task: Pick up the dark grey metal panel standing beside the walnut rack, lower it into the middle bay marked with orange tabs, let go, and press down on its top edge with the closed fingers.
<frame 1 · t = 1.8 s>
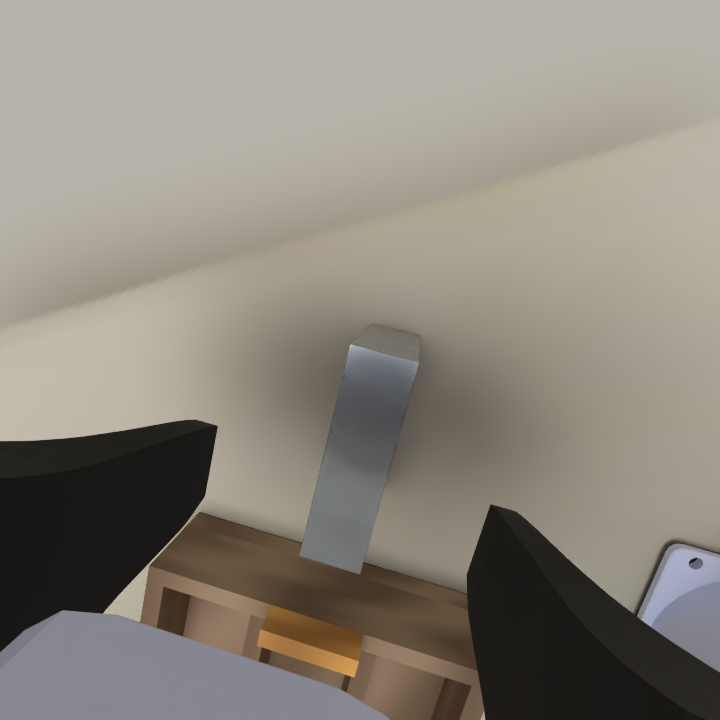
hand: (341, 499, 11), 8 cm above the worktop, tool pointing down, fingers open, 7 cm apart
rack: (310, 654, 22), on the worktop
panel: (375, 407, 19), on the worktop
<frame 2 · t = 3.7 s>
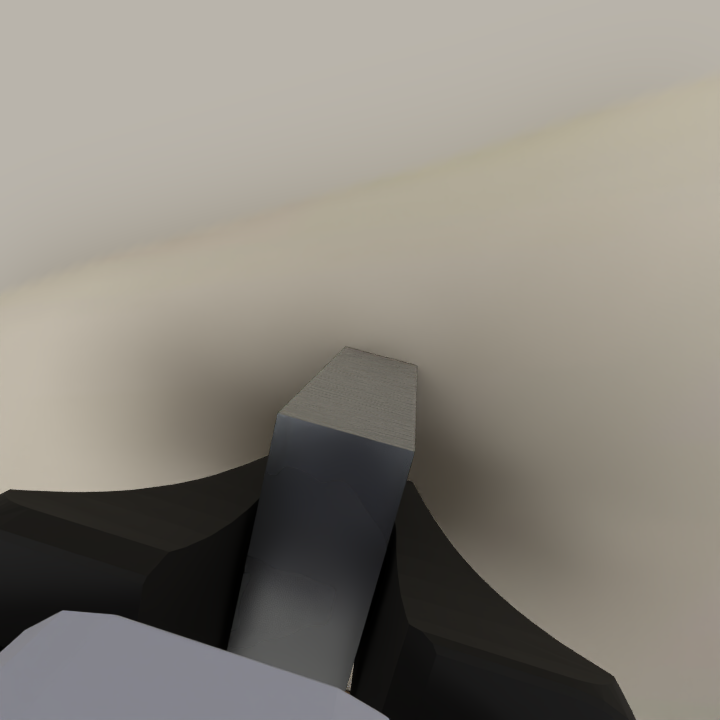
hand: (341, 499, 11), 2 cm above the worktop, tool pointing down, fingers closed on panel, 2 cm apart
panel: (351, 471, 13), on the worktop, touching gripper
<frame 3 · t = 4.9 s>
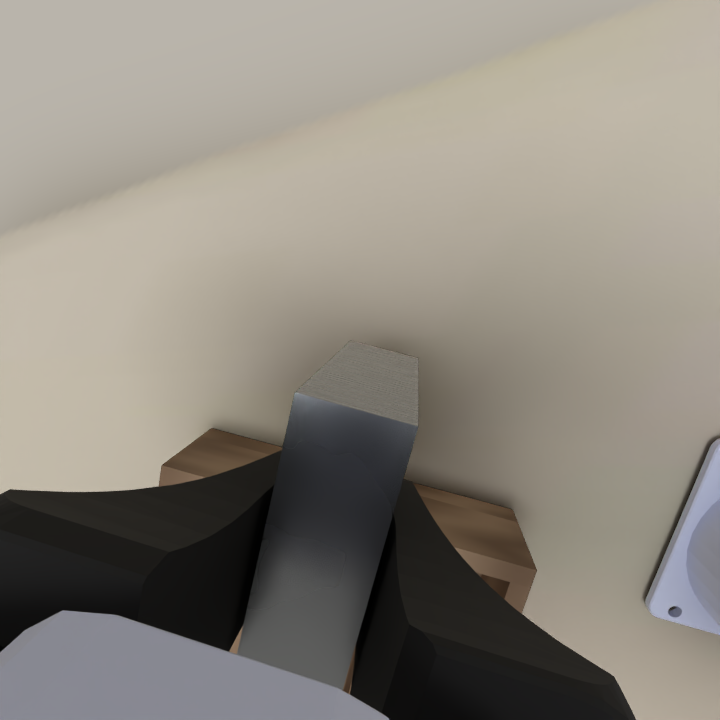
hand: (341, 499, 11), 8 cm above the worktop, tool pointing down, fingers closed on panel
rack: (330, 578, 21), on the worktop
panel: (355, 459, 14), point 6 cm above the worktop, touching gripper
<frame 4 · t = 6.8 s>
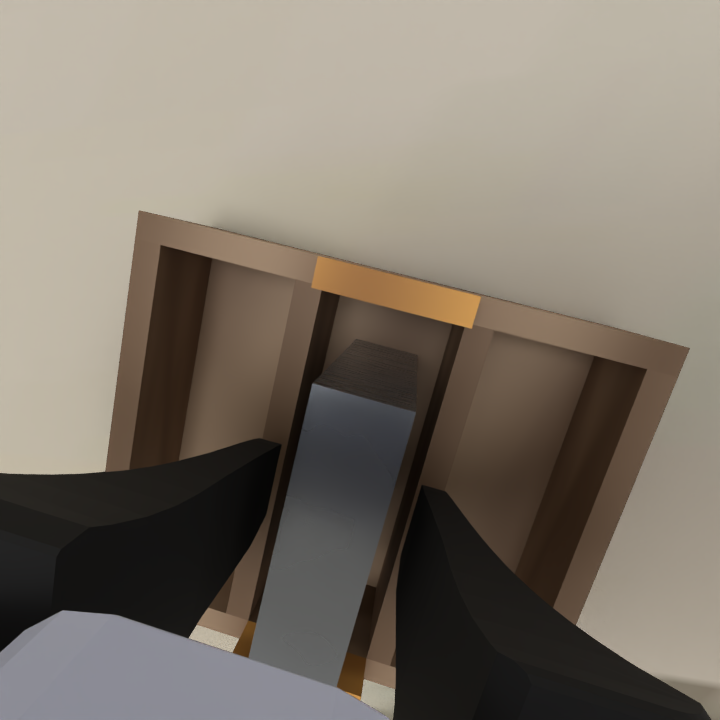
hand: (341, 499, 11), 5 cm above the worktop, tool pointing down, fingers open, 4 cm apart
rack: (364, 434, 16), on the worktop
panel: (360, 447, 15), point 1 cm above the worktop, touching rack
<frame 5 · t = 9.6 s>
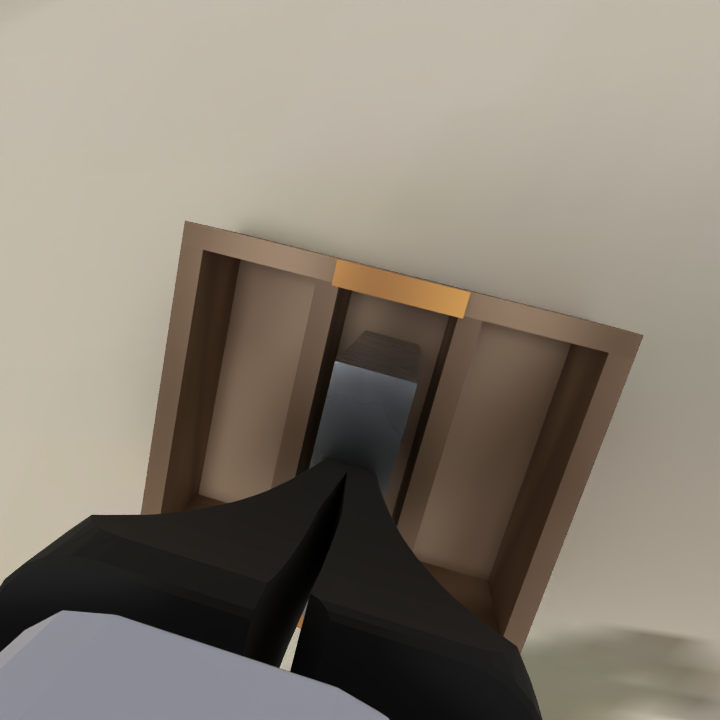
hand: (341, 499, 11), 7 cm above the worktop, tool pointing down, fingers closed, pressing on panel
rack: (371, 415, 18), on the worktop
panel: (368, 425, 17), point 1 cm above the worktop, touching gripper, rack
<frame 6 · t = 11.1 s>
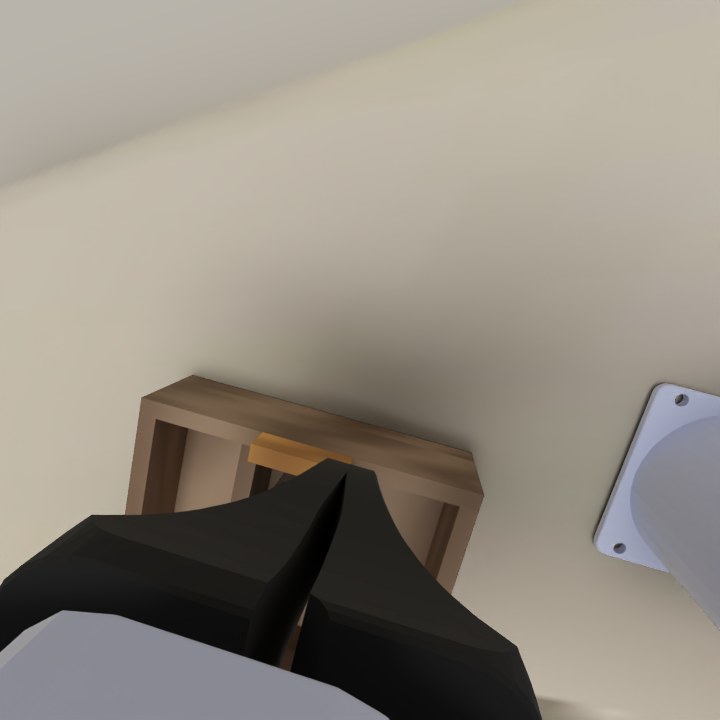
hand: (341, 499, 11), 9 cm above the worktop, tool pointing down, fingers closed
rack: (302, 519, 22), on the worktop
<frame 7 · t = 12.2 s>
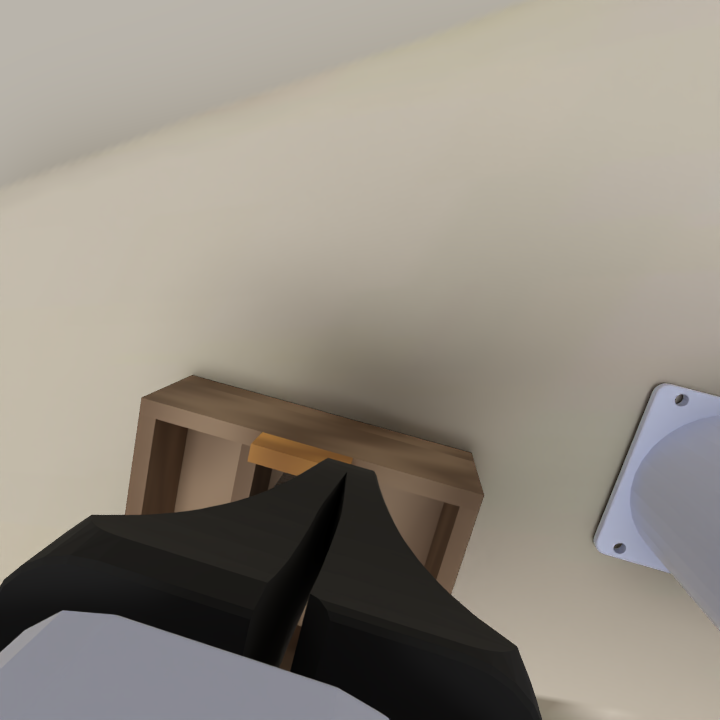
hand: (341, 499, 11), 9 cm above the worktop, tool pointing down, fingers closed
rack: (302, 519, 22), on the worktop
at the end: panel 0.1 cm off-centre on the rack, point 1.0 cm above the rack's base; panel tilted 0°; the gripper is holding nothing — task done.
